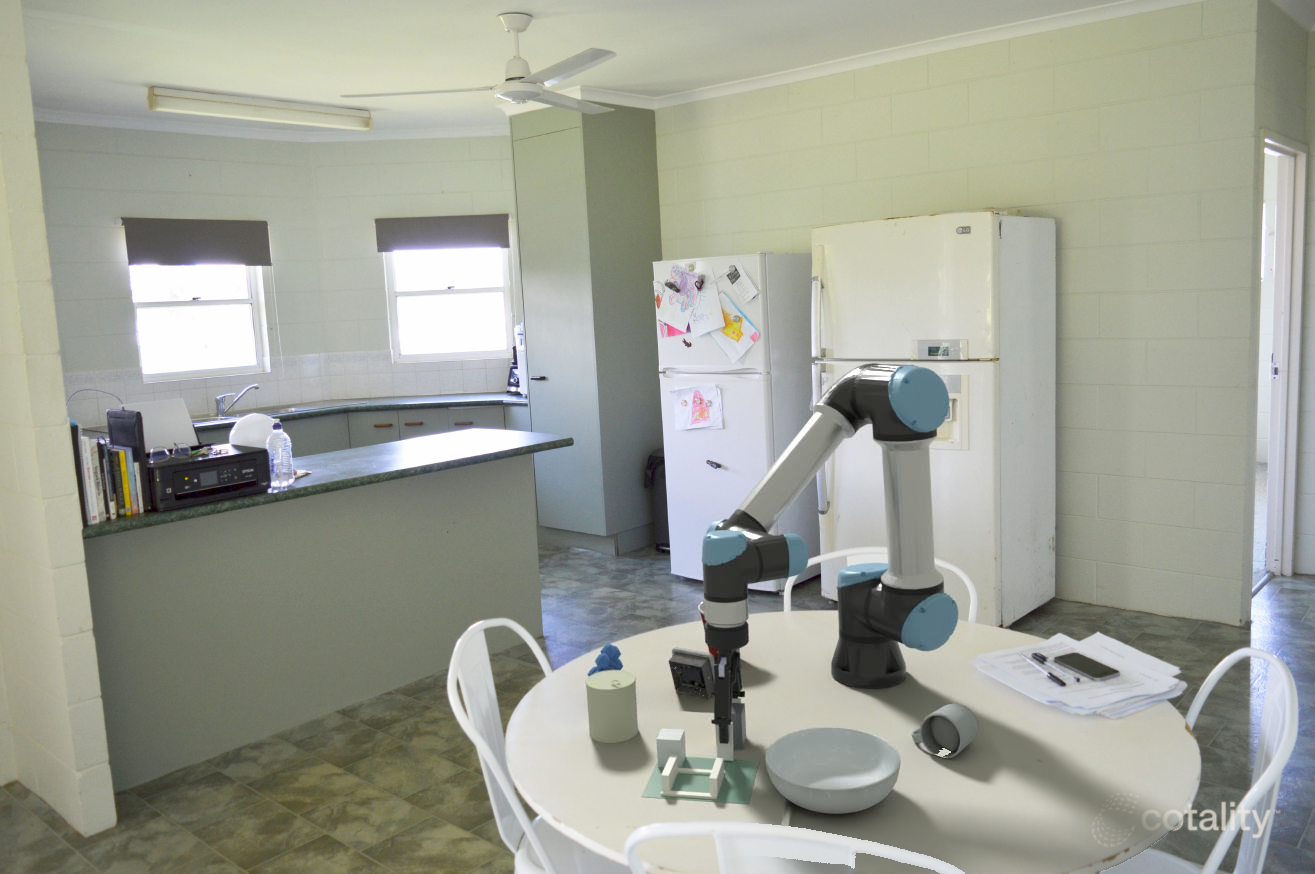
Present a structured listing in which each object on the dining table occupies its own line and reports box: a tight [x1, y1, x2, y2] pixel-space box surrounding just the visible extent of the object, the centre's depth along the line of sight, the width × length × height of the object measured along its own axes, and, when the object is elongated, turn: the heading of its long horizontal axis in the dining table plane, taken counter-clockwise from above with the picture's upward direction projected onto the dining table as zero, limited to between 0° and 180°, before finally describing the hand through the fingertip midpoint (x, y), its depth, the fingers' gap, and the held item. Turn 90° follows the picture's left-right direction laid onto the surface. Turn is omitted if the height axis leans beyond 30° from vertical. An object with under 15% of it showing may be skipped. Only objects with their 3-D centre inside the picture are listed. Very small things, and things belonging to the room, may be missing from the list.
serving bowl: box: [764, 726, 902, 814], centre depth 153 cm, size 21×21×7 cm
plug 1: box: [655, 728, 687, 768], centre depth 163 cm, size 4×4×5 cm
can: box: [585, 669, 639, 744], centre depth 176 cm, size 9×9×12 cm
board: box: [640, 755, 760, 805], centre depth 158 cm, size 17×14×4 cm
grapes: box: [587, 643, 624, 678], centre depth 192 cm, size 12×7×12 cm, turn 161°
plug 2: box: [714, 702, 747, 751], centre depth 169 cm, size 5×4×8 cm
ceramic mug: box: [910, 702, 979, 759], centre depth 167 cm, size 11×8×8 cm
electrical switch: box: [668, 646, 715, 699], centre depth 195 cm, size 9×5×9 cm, turn 57°
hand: (729, 746), depth 168 cm, fingers open, 10 cm apart
